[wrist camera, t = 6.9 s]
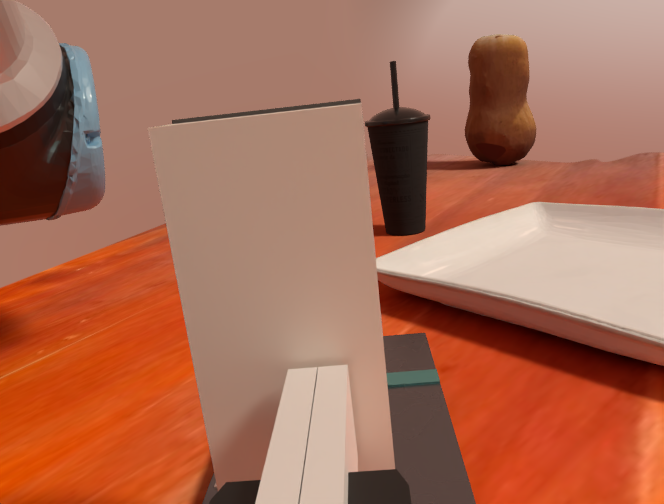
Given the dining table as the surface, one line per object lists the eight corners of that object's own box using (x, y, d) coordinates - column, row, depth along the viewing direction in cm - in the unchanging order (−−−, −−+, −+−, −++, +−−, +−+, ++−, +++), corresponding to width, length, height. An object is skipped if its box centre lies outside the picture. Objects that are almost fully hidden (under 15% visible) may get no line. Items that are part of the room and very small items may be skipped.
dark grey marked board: (574, 875, 12) (574, 833, 12) (85, 884, 13) (72, 845, 12) (426, 349, 37) (424, 331, 37) (263, 362, 38) (260, 345, 37)
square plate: (359, 303, 48) (354, 260, 47) (535, 230, 64) (535, 197, 63) (729, 419, 27) (735, 347, 26) (852, 269, 43) (859, 220, 42)
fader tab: (409, 621, 17) (361, 99, 13) (244, 629, 17) (147, 123, 13) (398, 522, 20) (359, 98, 16) (264, 530, 21) (194, 117, 17)
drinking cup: (385, 242, 65) (369, 61, 59) (367, 229, 72) (352, 67, 67) (447, 232, 66) (437, 55, 61) (423, 220, 73) (412, 61, 68)
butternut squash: (540, 157, 117) (539, 31, 110) (531, 167, 105) (529, 27, 99) (474, 161, 123) (469, 41, 116) (458, 170, 112) (452, 39, 105)
